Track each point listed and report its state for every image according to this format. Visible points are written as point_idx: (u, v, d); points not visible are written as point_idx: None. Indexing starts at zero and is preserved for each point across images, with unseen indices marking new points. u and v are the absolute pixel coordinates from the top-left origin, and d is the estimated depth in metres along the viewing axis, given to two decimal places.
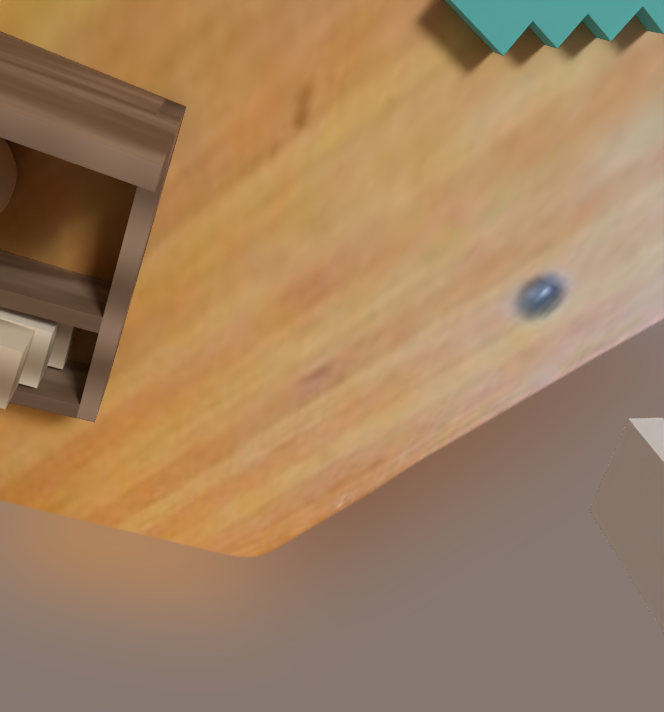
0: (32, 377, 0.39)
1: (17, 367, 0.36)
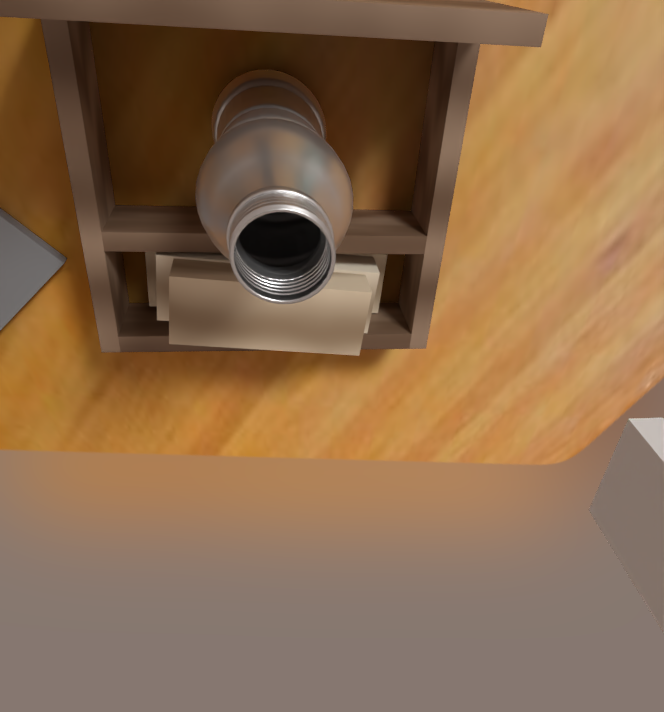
0: None
1: (367, 309, 0.37)
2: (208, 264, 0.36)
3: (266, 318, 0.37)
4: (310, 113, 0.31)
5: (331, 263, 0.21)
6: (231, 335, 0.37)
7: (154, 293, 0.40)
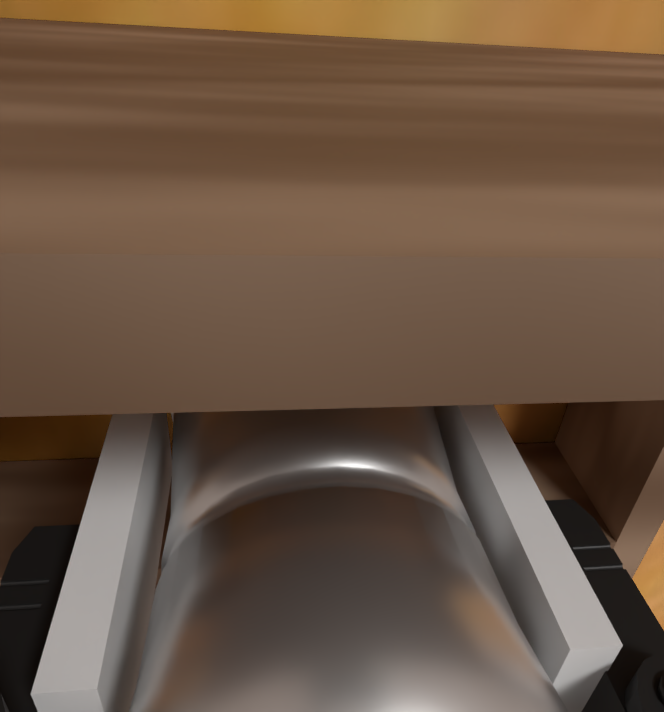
0: None
1: None
2: None
3: None
4: None
5: None
6: None
7: None
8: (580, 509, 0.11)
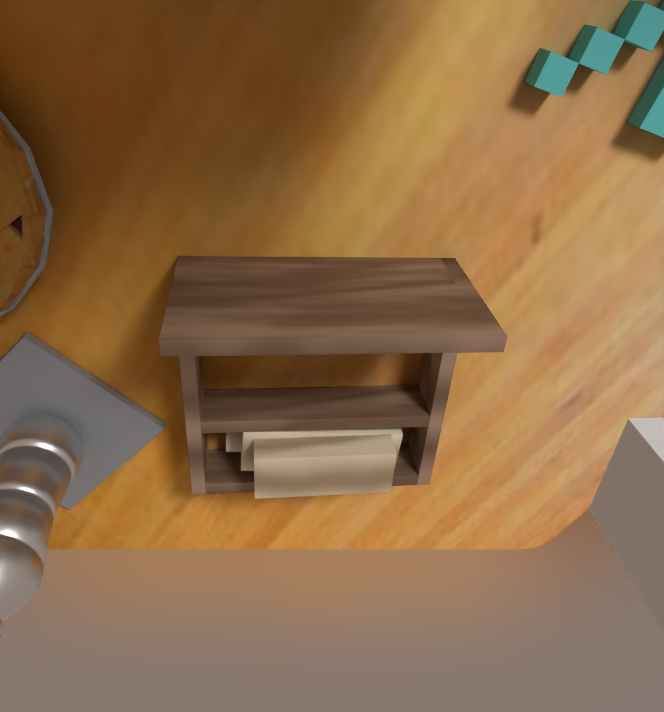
0: None
1: (394, 463, 0.51)
2: (278, 441, 0.51)
3: (322, 476, 0.51)
4: (50, 467, 0.47)
5: None
6: (298, 489, 0.52)
7: (230, 443, 0.55)
8: None
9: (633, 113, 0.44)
